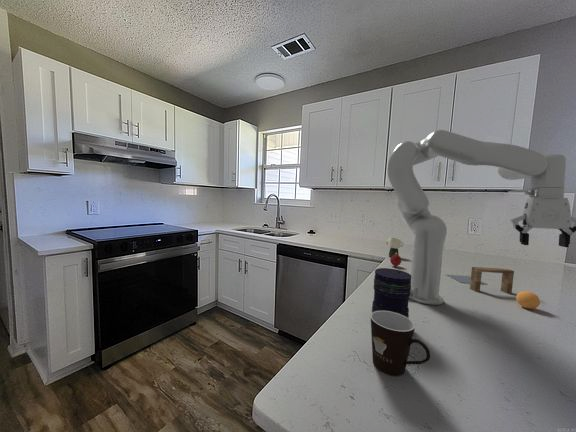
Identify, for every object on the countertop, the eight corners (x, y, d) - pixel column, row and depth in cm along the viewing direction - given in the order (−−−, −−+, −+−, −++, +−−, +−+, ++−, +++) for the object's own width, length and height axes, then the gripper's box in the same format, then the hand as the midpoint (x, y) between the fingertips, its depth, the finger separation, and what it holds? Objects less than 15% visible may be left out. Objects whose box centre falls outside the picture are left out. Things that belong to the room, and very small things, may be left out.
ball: (526, 311, 81) (528, 294, 81) (510, 303, 87) (512, 288, 87) (544, 312, 81) (546, 295, 80) (527, 304, 87) (529, 289, 86)
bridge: (511, 293, 98) (514, 270, 97) (474, 291, 99) (477, 268, 98) (505, 290, 101) (507, 268, 100) (469, 288, 102) (471, 266, 101)
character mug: (403, 258, 157) (405, 238, 156) (400, 259, 151) (402, 239, 150) (386, 255, 164) (388, 236, 163) (383, 256, 158) (384, 237, 157)
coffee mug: (361, 352, 54) (364, 310, 53) (396, 352, 55) (399, 310, 54) (386, 393, 42) (390, 340, 42) (431, 392, 43) (435, 340, 42)
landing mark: (461, 282, 109) (461, 282, 109) (445, 274, 121) (445, 274, 121) (487, 284, 108) (487, 284, 108) (468, 276, 120) (468, 275, 120)
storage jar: (391, 335, 61) (396, 280, 61) (363, 318, 70) (367, 269, 69) (415, 327, 66) (419, 276, 65) (386, 312, 75) (390, 266, 74)
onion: (402, 268, 129) (403, 254, 129) (391, 267, 130) (392, 253, 130) (399, 265, 135) (400, 252, 135) (388, 264, 136) (389, 251, 136)
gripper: (518, 193, 76) (515, 245, 77) (593, 192, 69) (589, 249, 70) (506, 194, 83) (504, 242, 84) (573, 193, 76) (570, 245, 77)
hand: (543, 245), depth 77 cm, fingers open, 9 cm apart
